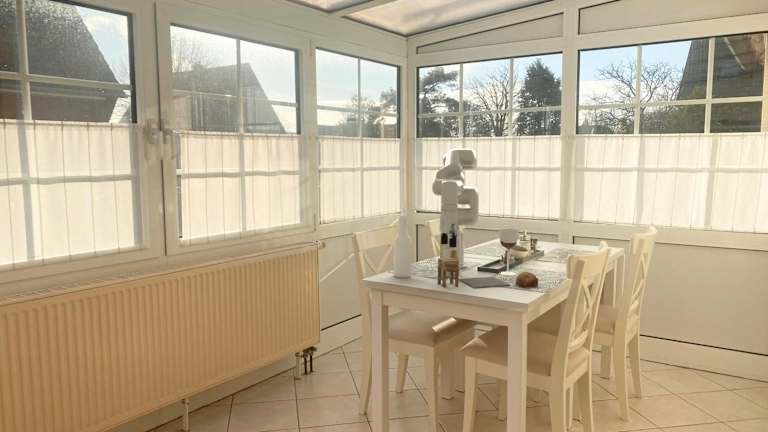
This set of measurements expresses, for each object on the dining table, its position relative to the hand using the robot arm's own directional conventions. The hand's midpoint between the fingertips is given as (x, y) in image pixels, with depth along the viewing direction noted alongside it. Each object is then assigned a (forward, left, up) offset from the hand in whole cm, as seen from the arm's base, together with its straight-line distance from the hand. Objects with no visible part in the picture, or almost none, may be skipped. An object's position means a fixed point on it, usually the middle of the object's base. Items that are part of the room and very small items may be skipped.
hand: (448, 245), depth 255 cm
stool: (0, 0, -18) cm, 18 cm away
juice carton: (-19, +9, -19) cm, 28 cm away
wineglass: (-16, +39, -19) cm, 46 cm away
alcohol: (-24, -14, -19) cm, 34 cm away
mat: (0, +18, -18) cm, 26 cm away
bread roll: (+9, +36, -19) cm, 41 cm away
